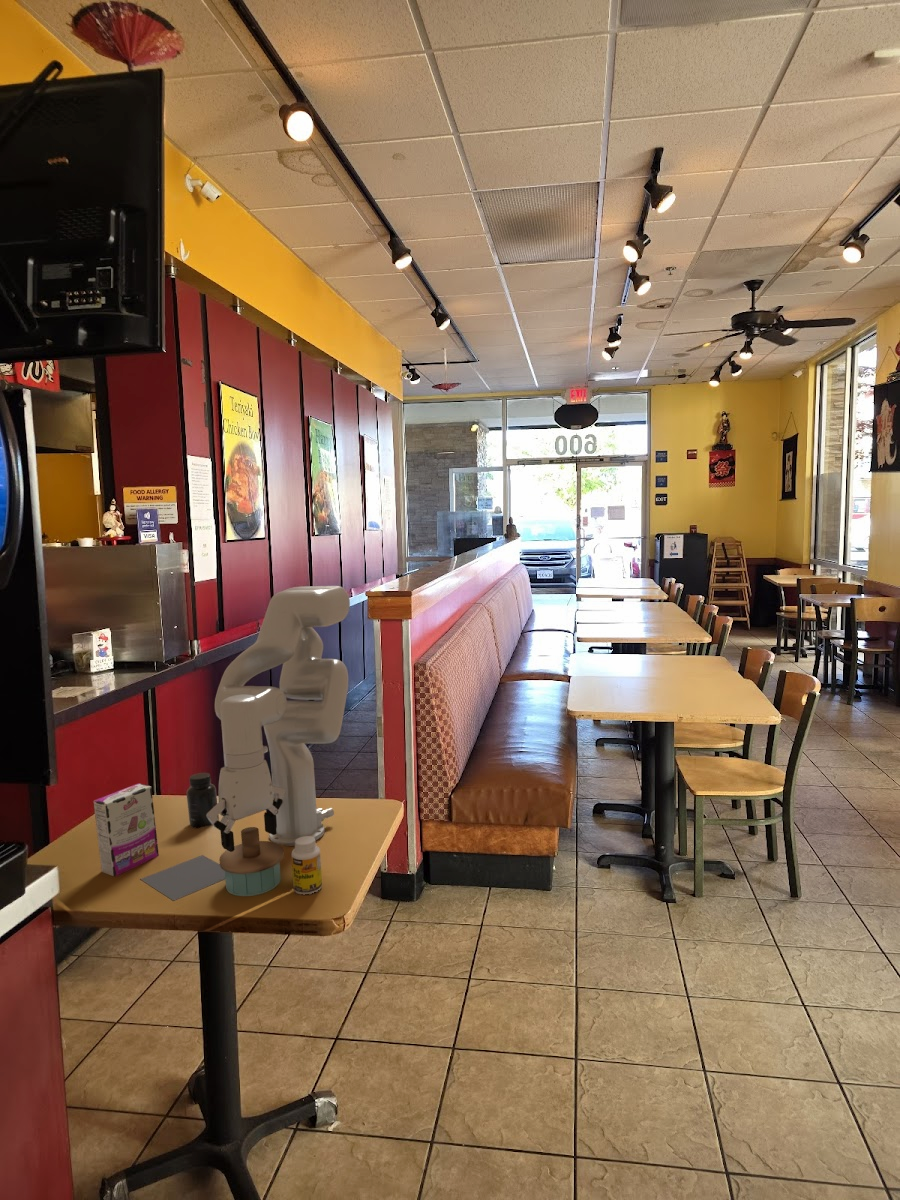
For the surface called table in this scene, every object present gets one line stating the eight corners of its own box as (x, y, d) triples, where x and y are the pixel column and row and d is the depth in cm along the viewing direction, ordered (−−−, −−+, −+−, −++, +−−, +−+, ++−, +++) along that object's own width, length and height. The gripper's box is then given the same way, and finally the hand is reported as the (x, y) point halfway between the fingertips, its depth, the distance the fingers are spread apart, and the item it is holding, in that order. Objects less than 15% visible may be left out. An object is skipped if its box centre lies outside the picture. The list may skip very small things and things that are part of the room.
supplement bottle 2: (289, 895, 152) (286, 845, 150) (299, 881, 157) (296, 833, 156) (317, 896, 151) (313, 846, 149) (326, 883, 156) (323, 834, 155)
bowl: (261, 868, 164) (259, 843, 163) (291, 883, 157) (289, 857, 156) (216, 887, 156) (214, 861, 155) (245, 904, 149) (243, 877, 148)
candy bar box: (145, 853, 173) (138, 782, 171) (159, 857, 171) (153, 785, 169) (99, 874, 164) (92, 799, 162) (114, 879, 161) (106, 803, 159)
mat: (202, 857, 170) (202, 854, 170) (237, 876, 160) (237, 873, 160) (140, 881, 160) (140, 879, 160) (173, 903, 150) (173, 900, 150)
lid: (260, 840, 164) (258, 813, 164) (296, 856, 156) (294, 828, 155) (207, 861, 155) (205, 833, 155) (242, 880, 147) (239, 849, 146)
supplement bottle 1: (207, 815, 194) (203, 769, 192) (224, 821, 190) (221, 773, 188) (183, 825, 188) (179, 777, 187) (201, 831, 184) (197, 782, 183)
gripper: (270, 743, 162) (276, 822, 164) (193, 766, 149) (201, 851, 151) (291, 750, 157) (297, 831, 159) (214, 774, 144) (221, 862, 146)
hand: (250, 841), depth 155 cm, fingers open, 9 cm apart
